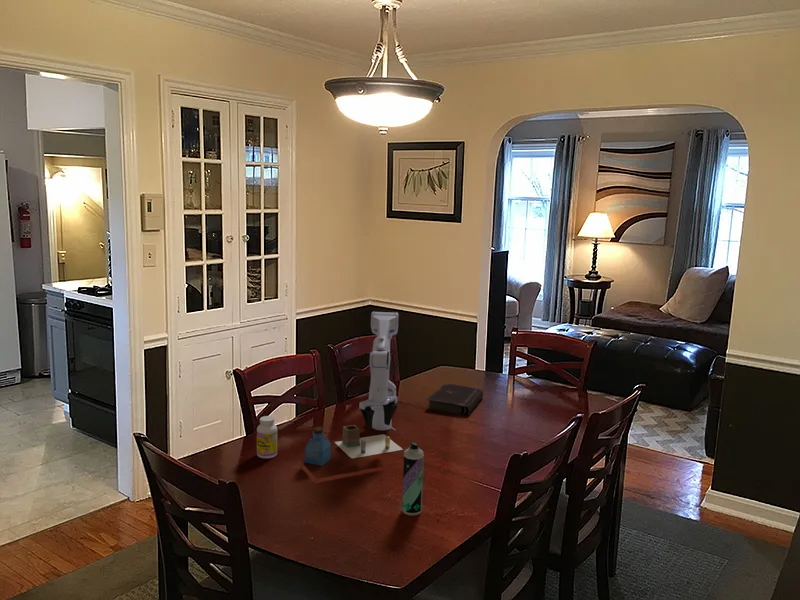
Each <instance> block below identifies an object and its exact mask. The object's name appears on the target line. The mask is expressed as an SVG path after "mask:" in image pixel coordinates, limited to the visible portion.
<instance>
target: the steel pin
mask: <svg viewBox="0 0 800 600" xmlns="http://www.w3.org/2000/svg"><path fill="white" fill-rule="evenodd" d="M361 453H366V441H365V440H362V441H361Z"/></svg>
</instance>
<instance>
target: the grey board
mask: <svg viewBox="0 0 800 600" xmlns="http://www.w3.org/2000/svg"><path fill="white" fill-rule="evenodd" d="M386 436H387V435H386V434H383V433H382V434H378V435H371V436H370V435H369V436H365V437H360V446H356V447H350V448H347V447H346V446H345V445H344V444H342V440H341V441H340V440H339V441H334V444H336V445H337V446H338V447H339V448H340V449H341V450H342V452H344V453H345V454H346V455H347V456H348V457H350V459H356V458H363V457H369V456H375V455H380V454H386V453H392V452H396V451H398V452H399V451H403V450H404V449H403V448H402V447H401V446H400V445H398V444H397V443H395V442H394V441H393V440H392V439H391V438H390V449H385V437H386ZM362 440H365V441H366V453H361V441H362Z"/></svg>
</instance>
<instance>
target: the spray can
mask: <svg viewBox="0 0 800 600" xmlns="http://www.w3.org/2000/svg"><path fill="white" fill-rule="evenodd" d="M403 452H404V453H403V467H402V468H403V469H402V470H403V471H402V474H403V475H402V499H401V500H402V502H401V512H402V513H403V514H405V515H407V516H418V515H420V514H421V513H422V510H423V509H422V506H423V486H424V485H423V483H424V482H423V481H424V478H423V477H424V458H425V457H424V456H425V455H424V450H422V449H421V448H420V447H419V446H418V442H411V443H410V446H409V447H408V448H406V449H405V450H404V451H403Z"/></svg>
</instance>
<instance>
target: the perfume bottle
mask: <svg viewBox="0 0 800 600" xmlns="http://www.w3.org/2000/svg"><path fill="white" fill-rule="evenodd" d="M312 429H313V431H312V436H313V437H311V438H310V439H309V440H308V441H307V444H306V445H305V447H304V463H307V464H310V465H311V464H312V465H316V466H324V465H326V463H327V462H328V461H330V460H331V458H332V456H331V455H332V444H331V442H330V440H329V438H328V437H327V436H325V435H324V427H322V426H316V427H313V428H312Z"/></svg>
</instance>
